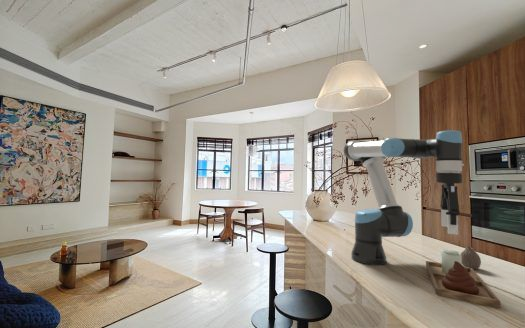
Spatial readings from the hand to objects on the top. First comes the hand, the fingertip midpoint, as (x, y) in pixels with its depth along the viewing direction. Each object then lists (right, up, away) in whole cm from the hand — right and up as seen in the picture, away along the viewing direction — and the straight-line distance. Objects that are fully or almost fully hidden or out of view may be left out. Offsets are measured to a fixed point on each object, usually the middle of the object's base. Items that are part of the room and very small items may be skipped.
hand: (449, 230), depth 87 cm
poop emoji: (-1, -19, -5) cm, 20 cm away
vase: (+23, -22, +17) cm, 36 cm away
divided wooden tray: (+4, -20, +2) cm, 20 cm away
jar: (+8, -20, +8) cm, 23 cm away
